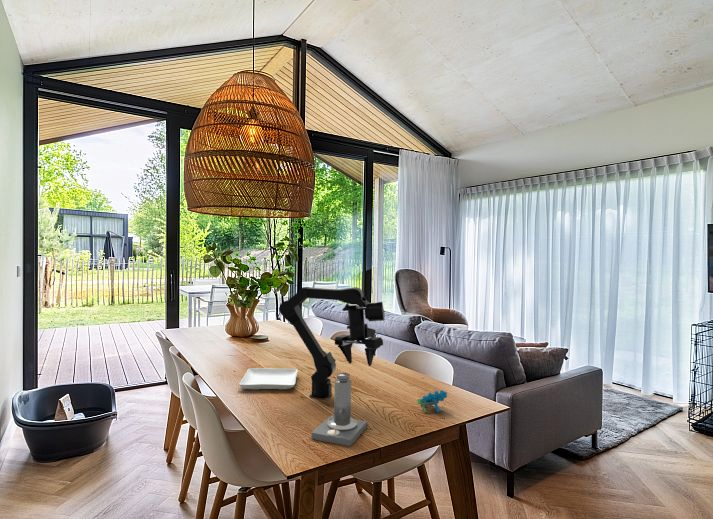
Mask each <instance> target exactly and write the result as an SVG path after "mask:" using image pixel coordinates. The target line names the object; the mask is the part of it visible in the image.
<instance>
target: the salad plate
mask: <svg viewBox="0 0 713 519" xmlns="http://www.w3.org/2000/svg"><path fill="white" fill-rule="evenodd" d="M298 372H299V370H298V369H297V368H276V367H273V368H271V367H270V368H268V367H267V368H266V367H264V368H258V367H257V368H256V367H255V368H254V367H253V368H250V367H249V368H248V369H247V371H246V372H245V374H244V376H243V377H242V379H241V380H240V381H239V383H238V386H240V387H241V388H242V389H244V390H259V389H279V390H289V389H292V388H294V387H295V385H296V382H297V381H296V380H297V375H298Z"/></svg>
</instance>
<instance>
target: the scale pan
mask: <svg viewBox="0 0 713 519" xmlns="http://www.w3.org/2000/svg"><path fill="white" fill-rule="evenodd" d="M356 420H357V419H356V418H355V419H354V418H352V417H350V424H348V425H344V426H340V425H336V424H334V418H331V419H329V420H328V421H327V426H328V427H329V428H331V429H334V430H335V429H336V430H339V431H346V430H351V429H354V428H355V427H356V426H357V421H356Z"/></svg>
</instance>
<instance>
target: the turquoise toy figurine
mask: <svg viewBox="0 0 713 519" xmlns="http://www.w3.org/2000/svg"><path fill="white" fill-rule="evenodd" d="M447 395H448V392H447V391H444V389H443V390H439V391H438V390H435V391H434V392H433V393H432V392H428V393H427V395H423V396H422V397H421V399H420V398H418V399H417V400H416V401H417V405H420V408H422V409H423V413H424V414H426V413H427V410H426V409H427V408H426V407H430V406H434V408H435V410H436V412H437V413H440V412H441V411H440V407H439V405H438V404H439V403H440V402H443V401H444V400H445V399H446V398H448V396H447Z"/></svg>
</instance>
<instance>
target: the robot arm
mask: <svg viewBox="0 0 713 519" xmlns="http://www.w3.org/2000/svg"><path fill="white" fill-rule="evenodd" d="M307 299H319V300H329V301H330V300H332V301H333V300H334V301H338V302H342V303H345V306H344V307H343V308H342V309H341V310H342V311H343V312H347V316H348V317H347V319H348V325H346V329H347V330H349V334H341V335H338V336H335V338H334V345H335V346H337V348H339V349H340V351H341V352H342V354H343V355H344V358H345V360H346V361H347V362H348V364H352V363H353V362H352V361H353V360H352V358H353V357H352V347H353V344H356V345H357V344H358V345H364V346H365V348H364V353H365V356H366V361H367V366H368V367H371V366H372V364H373V360H374V357H375V354H376V352H377V350H378V349H379V348H381V346H384V340H383V338H382V337H381V336H380V337H379V336H376V331H377V330H376V329H374V328H371V327H368V324H367V323H365V319H366V320H367V321H368V322H383V321H385V320H386V319H385V317H386V316H385V309H384V304H383V303H384V302H383V301H378V302H369V301H368V300H367V299H366V297H365V296H364V292H363V290H362V289H361V288H360V287H358V286H354V287H346V288H338V289H335V288H320V287H319V288H318V287H309V286H304V287H302V288H299V291H297V292H296V293H295V294H294V295H293V296H291V297H290V298H289V299H288V300H287V299H285V300H284V301H282V302H281V303H280V305H279V307H278V310H279V313H280V315H281V316H282V317H283V318H284V319H285V320H286V321H287V322H288V323H289V324H291V325H292V326H293V328H294V330H296V332H297V334H298V335H299V337H300V339H301V340H302V342H303V343H304V345H305V347H306V348H307V349H308V351H309V354H310V355H311V357H312V359H313V364H314V367H315V370H316V371H314V373H312V375H311V376H310V379H311V394H310V395H309V397H310V398H315V399H321V400H326V399H328V398H329V397H330V396H332V395H333V393H332V392H333V391H332V387H333V385H332V382H331V378H330V377H331V376H332V375H333V373H334V372H335V371H336V369H337V368H336V367H337V363H336V362H337V360H336V359H335V357H333V355H332V352H331V351H328V352H326V351H325V350H323V348H322V347H321V345H320V344H319V341H318V340H317V339H316V337H315V335H314V334H313V332H312V331H311V329H310V327H309V326H308V324H307V323H306V320H305V319H304V316H303V313H302V312H303V311H302V308H301V305H302V304H303V303H304V302H305V301H306V300H307Z"/></svg>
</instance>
